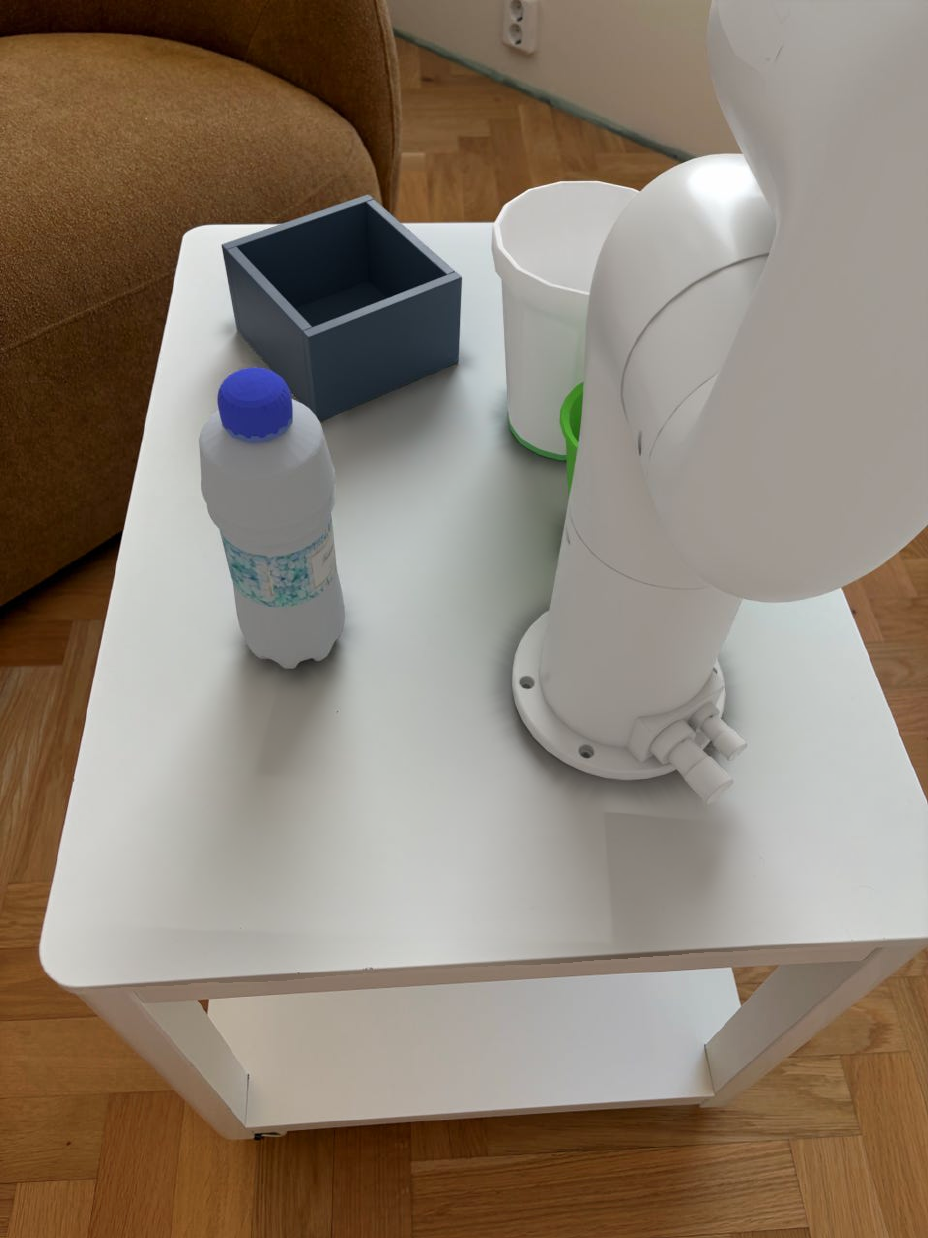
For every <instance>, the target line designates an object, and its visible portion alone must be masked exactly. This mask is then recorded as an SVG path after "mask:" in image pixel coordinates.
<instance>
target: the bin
mask: <svg viewBox="0 0 928 1238" xmlns="http://www.w3.org/2000/svg"><path fill="white" fill-rule="evenodd" d="M221 252H222V256H223V257H222V258H223V262H224V267H225V272H226V280H227V285H228V290H229V294H230V301H231V305H232V306H231V307H232V312H233V318H234V322H235V329H236V331H237V332H238V334H240V336H241V337H242V338H243V340H245V342H246V343H247V344H248V345H249V346H250V347H251V349H253V351H254V352H255V353H256V354H257V356H259V357H260V359H261V360H262V361H263V362H264V363H265V364H266V365H267V367H268V368H269V370H271V371H273V372H275V373H276V374H278V375H279V376H281V377H282V378H283V379H284V381H285V382H286V384H287V386H288V388H289V390H290V394H291V395H293V396H294V397H295V399H297V400H296V401H298V402H300V403H302V404H303V405H305V406H306V407H308V408H309V409H310V410H311V411H312V412H313V413H314V414H315V415H316V417H317V418H318V420H319V422H320V423H321V422H323V421H325V420H327V419H330V418H331V417H334V416H336V415H338V414H341V413H344V412H345V411H348V410H350V409H352V408H355V407H357V406H359V405H362V404H364V403H367V402H369V401H371V400H373V399H375V398H378V397H380V396H383V395H386V394H388V393H390V392H392V391H394V390H397V389H399V388H402V387H404V386H407V385H408V384H411V383H414V382H415V381H418V380H420V379H422V378H424V377H427V376H429V375H432V374H434V373H436V372H439V371H442V370H443V369H446V368H448V367H450V366H452V365H456V364H457V363H459V362H460V343H461V342H460V340H461V339H460V338H461V317H462V292H463V291H462V289H463V276H462V275H461V274H459V272H457V271H456V270H455V269H453V268H452V267H451V266H450V265H449V264H448V263H446V261H444V260H443V259H442V258H441V257H440V256H439V255H438V254H437V253H435V252H434V251H433V250H432V249H431V248H430V247H429V246H428V245H426V244H425V243H424V242H423V241H422V240H421V239H420V238H418V237H417V236H416V235H415V234H414V233H413V232H412V231H411V230H409V229H408V228H407V227H406V226H405V225H404V224H403V223H402V222H400V221H399V220H398V219H397V218H396V217H395V216H394V215H393V214H392V213H390V212H389V211H388V210H387V209H386V208H384V207H383V205H381V204H380V203H379V202H378V201H377V200H375V198H374V197H372V196H371V195H370V194H365V195H362V196H359V197H357V198H353V199H351V200H348V201H345V202H341V203H339V204H335V205H333V206H330V207H327V208H324V209H321V210H318V211H315V212H312V213H309V214H307V215H304V216H301V217H298V218H294V219H292V220H289V221H286V222H283V223H280V224H277V225H274V226H271V227H269V228H264V229H263V230H260V231H257V232H254V233H251V234H247V235H245V236H242V237H238V238H236V239H233V240H230V241H227V242H224V243H221Z"/></svg>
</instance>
